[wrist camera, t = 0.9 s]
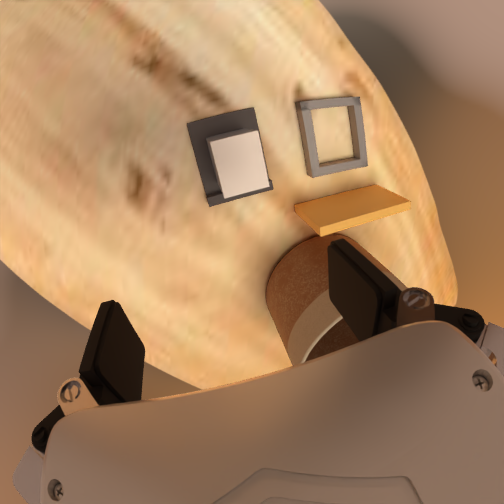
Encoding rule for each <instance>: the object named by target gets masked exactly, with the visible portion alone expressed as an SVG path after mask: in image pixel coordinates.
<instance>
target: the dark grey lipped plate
mask: <svg viewBox="0 0 504 504" xmlns="http://www.w3.org/2000/svg"><path fill="white" fill-rule="evenodd" d="M187 127H188V130H189V134H190V138H191V142H192V145H193V149H194V153H195V157H196V160H197V164H198V167H199V171H200V175H201V178H202V182H203V185H204V189H205V192H206V196H207V200H208V204H209V207H211V206H215V205H218V204H222V203H225V202H229V201H232V200H236V199H239V198H243V197H247V196H250V195H254V194H258V193H261V192H265V191H269V190H273V184H272V180H270V179H269V176H268V171H267V166H266V162H265V166H266V171H267V176H268V181H269V186H270V187H266V188H262V189H258V190H254V191H251V192H247V193H243V194H240V195H236V196H232V197H229V198H224V196H223V194H222V192H221V189H220V187H219V185H218V182H217V179H216V175H215V171H214V167H213V163H212V160H211V156H210V152H209V148H208V144H207V140H206V138H207V137H211V136H215V135H219V134H222V133H226V132H231V131H235V130H239V129H243V128H245V129H251V130H257V131H258V133H259V128H258V124H257V119H256V115H255V110H254V108H249V109H244V110H239V111H234V112H230V113H226V114H221V115H217V116H213V117H209V118H205V119H202V120H198V121H194V122H191V123H187ZM259 138H260V133H259ZM260 142H261V138H260ZM261 147H262V142H261ZM262 152H263V147H262ZM263 157H264V152H263ZM264 161H265V157H264Z"/></svg>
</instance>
